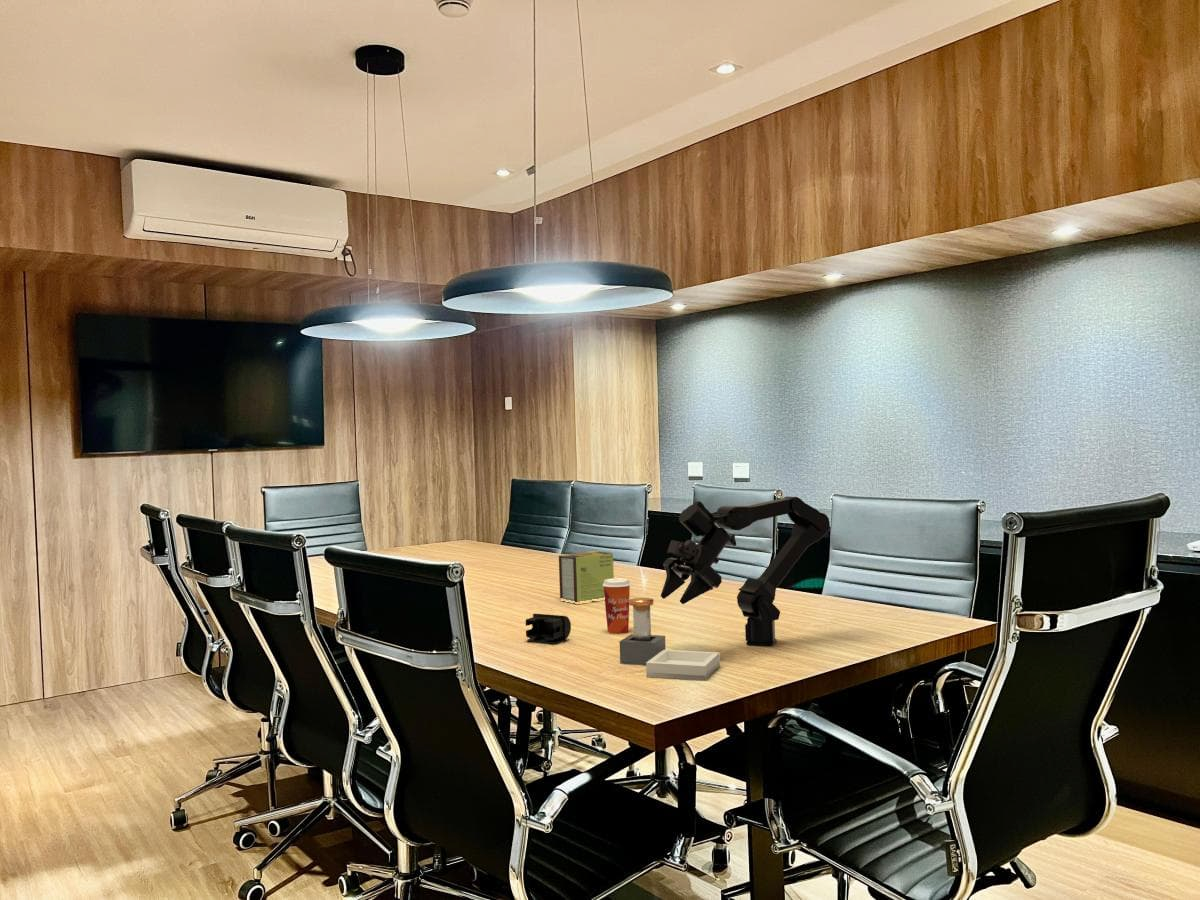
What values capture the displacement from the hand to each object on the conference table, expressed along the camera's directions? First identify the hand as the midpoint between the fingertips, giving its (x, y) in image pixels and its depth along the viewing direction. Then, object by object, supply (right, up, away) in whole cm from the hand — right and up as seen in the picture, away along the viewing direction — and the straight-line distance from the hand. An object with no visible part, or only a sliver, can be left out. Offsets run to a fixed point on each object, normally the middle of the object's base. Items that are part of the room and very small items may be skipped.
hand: (671, 600), depth 209 cm
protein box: (-21, -15, +84) cm, 88 cm away
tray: (+1, -13, -15) cm, 20 cm away
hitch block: (-7, -13, -4) cm, 15 cm away
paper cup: (-12, -14, +30) cm, 36 cm away
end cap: (-30, -15, +21) cm, 40 cm away
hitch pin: (-7, -13, -4) cm, 15 cm away
